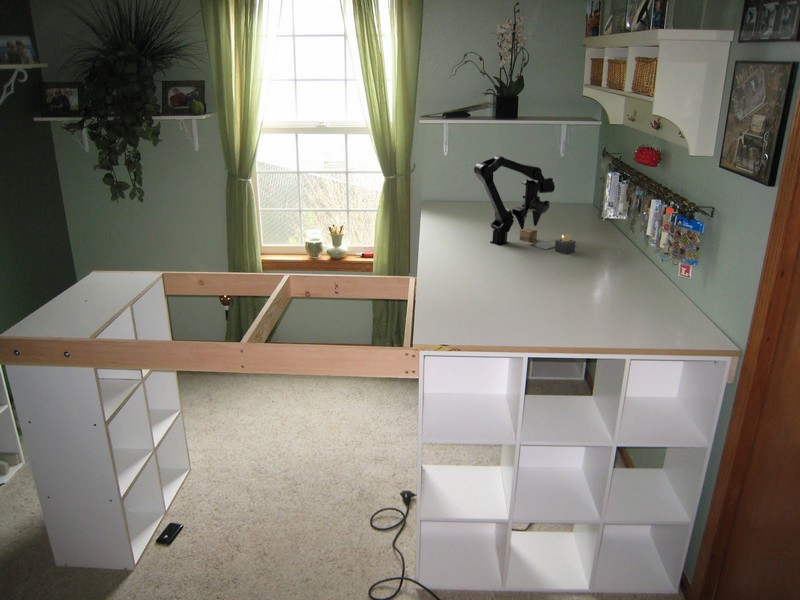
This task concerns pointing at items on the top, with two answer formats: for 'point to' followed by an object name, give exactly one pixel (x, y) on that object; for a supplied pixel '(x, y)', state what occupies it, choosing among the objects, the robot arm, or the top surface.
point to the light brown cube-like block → (528, 234)
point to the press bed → (543, 245)
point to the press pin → (565, 237)
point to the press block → (565, 246)
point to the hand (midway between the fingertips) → (528, 227)
